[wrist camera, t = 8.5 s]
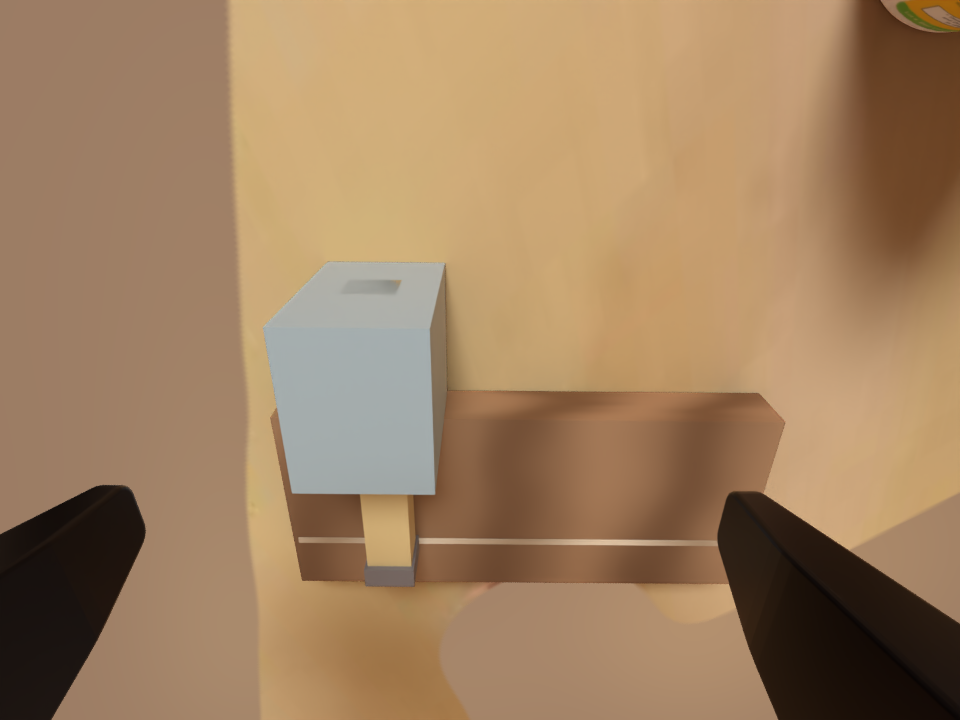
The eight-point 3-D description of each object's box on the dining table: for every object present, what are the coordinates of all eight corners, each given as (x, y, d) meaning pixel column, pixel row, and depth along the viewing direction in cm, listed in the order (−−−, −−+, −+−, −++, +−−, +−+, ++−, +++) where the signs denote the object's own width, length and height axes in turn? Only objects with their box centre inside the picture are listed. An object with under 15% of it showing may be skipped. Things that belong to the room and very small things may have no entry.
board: (759, 393, 21) (786, 423, 19) (715, 547, 24) (735, 585, 22) (288, 389, 20) (269, 418, 19) (315, 544, 24) (301, 581, 22)
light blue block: (444, 262, 18) (430, 328, 13) (449, 518, 23) (439, 644, 18) (327, 261, 18) (263, 327, 13) (356, 517, 23) (318, 643, 18)
